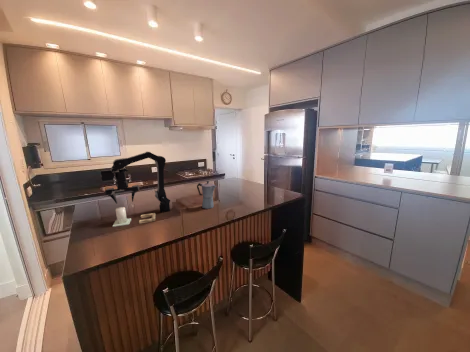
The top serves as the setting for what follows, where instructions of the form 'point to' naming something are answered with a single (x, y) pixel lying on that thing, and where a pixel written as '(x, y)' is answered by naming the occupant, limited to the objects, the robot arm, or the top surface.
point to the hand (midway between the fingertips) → (124, 202)
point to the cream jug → (121, 215)
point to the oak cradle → (147, 219)
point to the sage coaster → (122, 223)
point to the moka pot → (207, 194)
